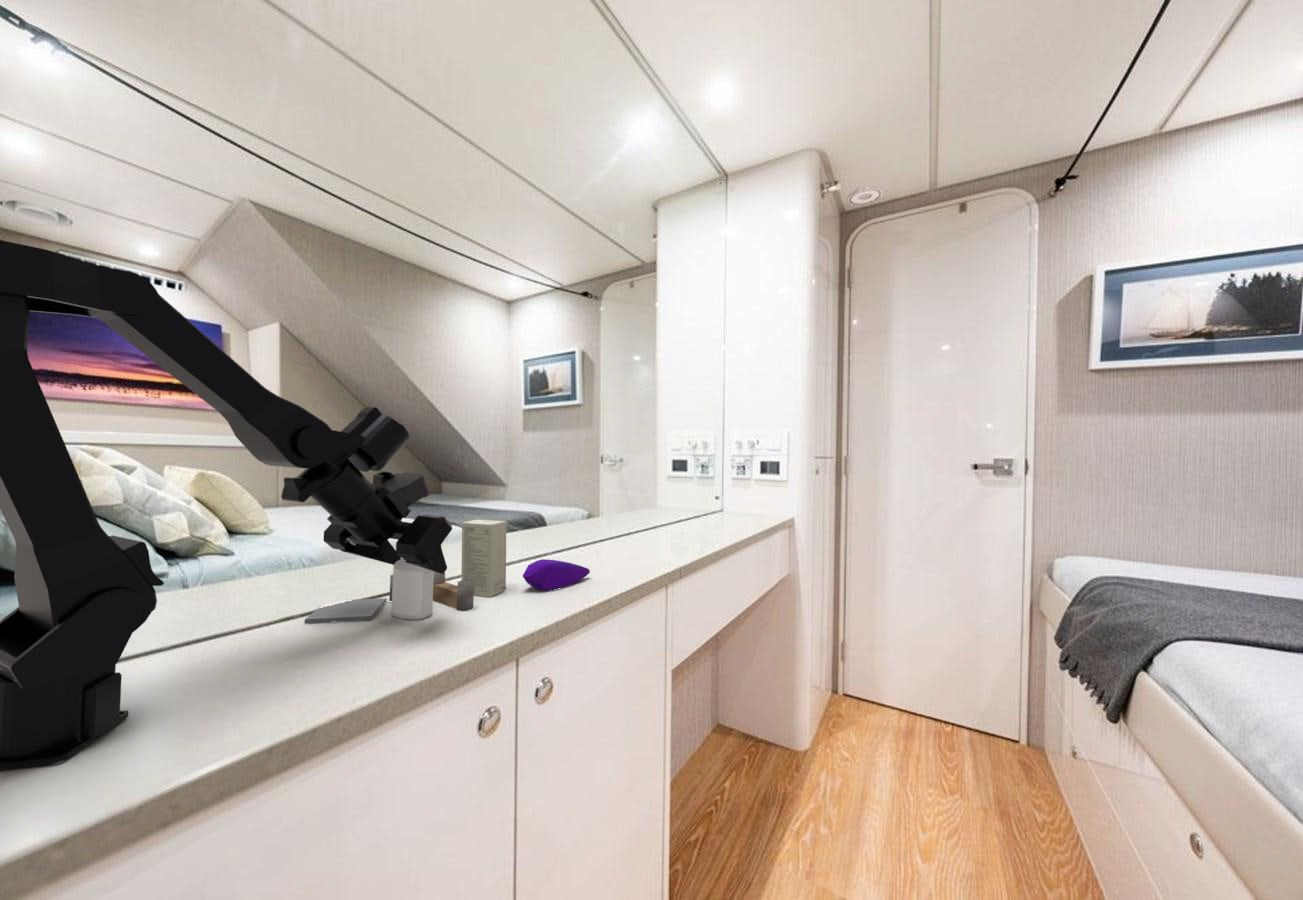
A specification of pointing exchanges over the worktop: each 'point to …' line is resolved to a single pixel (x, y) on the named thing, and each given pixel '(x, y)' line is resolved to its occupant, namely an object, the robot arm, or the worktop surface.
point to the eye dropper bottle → (411, 591)
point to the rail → (450, 592)
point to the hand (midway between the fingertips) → (421, 566)
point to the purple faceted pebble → (553, 574)
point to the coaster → (347, 611)
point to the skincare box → (484, 555)
